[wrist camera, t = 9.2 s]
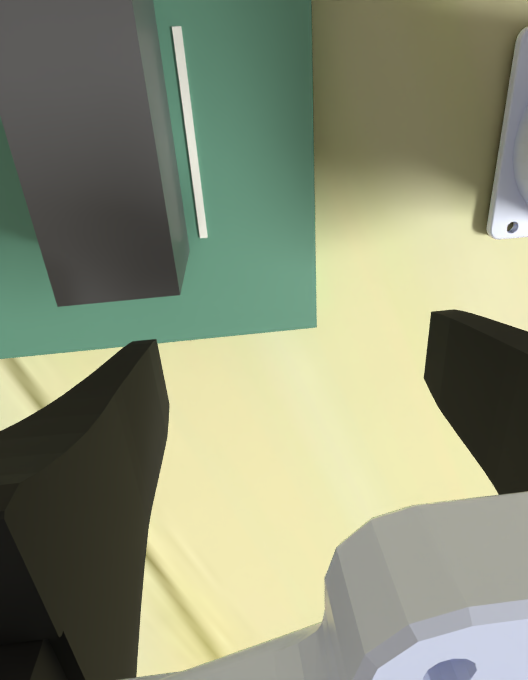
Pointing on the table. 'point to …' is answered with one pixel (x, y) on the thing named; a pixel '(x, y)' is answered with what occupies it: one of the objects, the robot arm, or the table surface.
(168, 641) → the table surface
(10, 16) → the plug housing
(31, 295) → the header board
